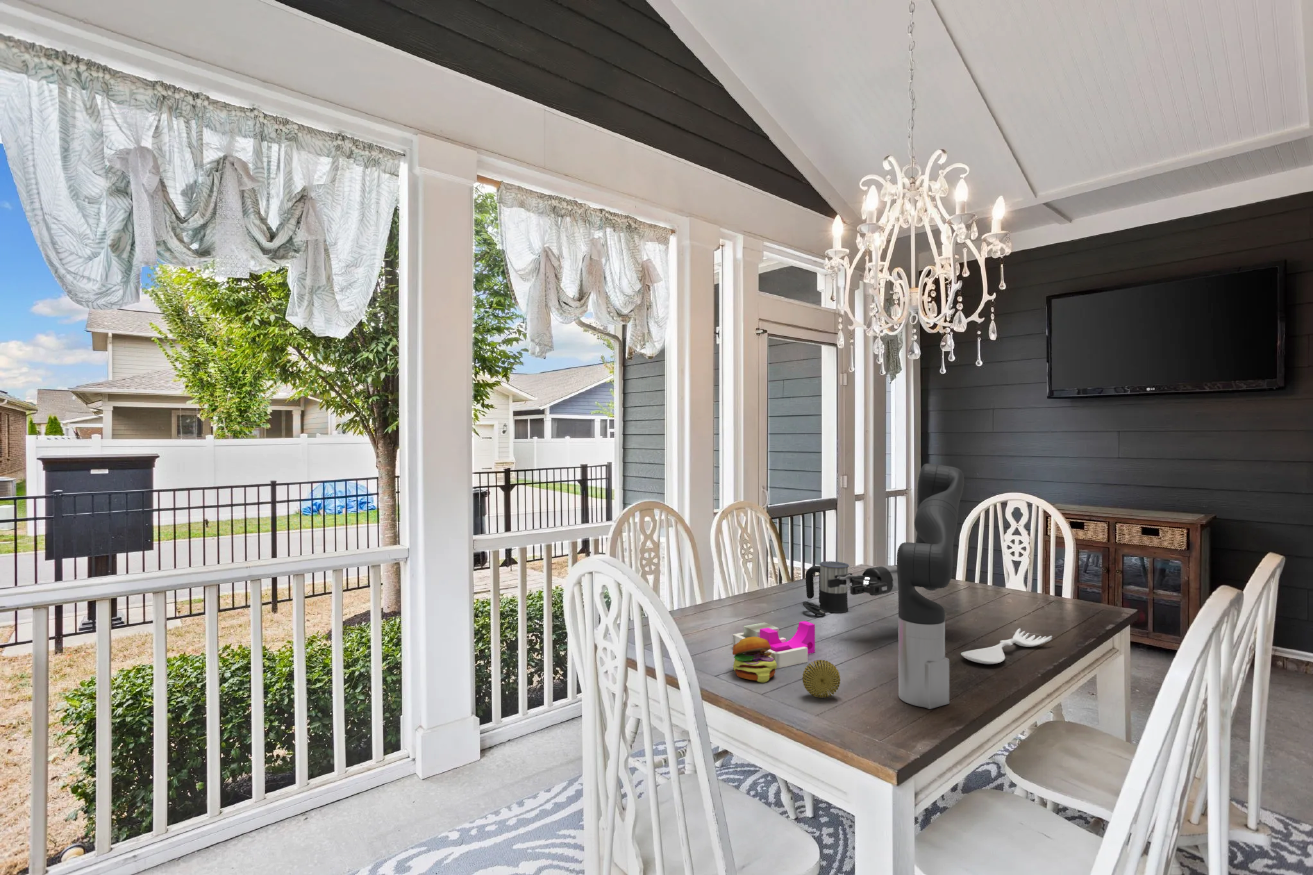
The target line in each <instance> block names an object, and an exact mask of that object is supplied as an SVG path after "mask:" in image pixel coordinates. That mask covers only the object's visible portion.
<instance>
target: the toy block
mask: <svg viewBox="0 0 1313 875" xmlns="http://www.w3.org/2000/svg"><path fill="white" fill-rule="evenodd" d="M760 638H763V639H766V640H768V642H769V644H770V646H771V649H770V650H773V651H775V652H780V651H785V650H790V649H795V648H800V647H807V648H808V655H810V654H813V653H816V625H815V623H813V622H810V621H807V620H804V621H799V622H798V627H797V629H796V632H795V633H794V635H793V636H792V637H791V639H789V640H786V642H784V643H782V642H781V641H780V639H779V638H780V635H779V636H778V631H775V630H773V629H770V628H763V629H760Z"/></svg>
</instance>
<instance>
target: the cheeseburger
mask: <svg viewBox="0 0 1313 875" xmlns="http://www.w3.org/2000/svg"><path fill="white" fill-rule="evenodd" d="M770 649H771V646H770V644H769V642H768V640H766V639H763V638H759V637H747V638H744V639H742V640H740V641H739V642H738V643H737V644H735V645H734V646H733V645H732V655H733V659H734V660H733V665H732V666H733V671H734V672H735V674H736V676H737V677H738V678H741V679H744V680H745V679H746V680H750V681H756V682H758V683H764V684H765V683H767V682H768V681H769V680H770V679H771V678H773V677H774V676H775V674H776V670H777V669H776V667H777V664H776V662H775V660H774V659H773V658H772V657H771V656H769V655H771V653H772V652H769V653H768V652H767V653H764V652H766V651H768V650H770Z"/></svg>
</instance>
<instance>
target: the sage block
mask: <svg viewBox="0 0 1313 875" xmlns="http://www.w3.org/2000/svg"><path fill="white" fill-rule="evenodd" d="M763 628H770V629H773V630H775V631H778V636H779V637H780V628H779V627H777V626H774V625H772V624H770V623H767V622H759V623H755V624H749V625H743V633H744V637H745V638H747V637H759V638H760V629H763Z"/></svg>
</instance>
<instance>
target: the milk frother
mask: <svg viewBox="0 0 1313 875" xmlns="http://www.w3.org/2000/svg"><path fill="white" fill-rule="evenodd" d="M818 564H819V565H813V566H810V567H809V568H808V569H807V570H806V572H805V589H806V590H805V591H806V598H807V599H809V600H810V599H813V598H814V597H815V585H814V584H815V581H814V574H815V573H818V575H819V576H818V577H819V578H818V579H819V580H818V603H819V605H817V604H816V603H813V602H810V601H803V602H802V606H803V607H804V608H805V610H807V611H809V612H810V613H812V614H814V615H815V617H816V616H825V615H826V613H835V614H840V613H846V612H848V611H849V608H848V606H849V605H848V604H849V603H848V588H847V587H842V586H840V587H833V588H829V587H828V580H829V579H834V575H841V574H848V573H849V572H848V570H849V567H850V564H849V563H846V562H840V561H833V560H832V561H831V560H830V561H826V560H825V561H821V562H819V563H818Z"/></svg>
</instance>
